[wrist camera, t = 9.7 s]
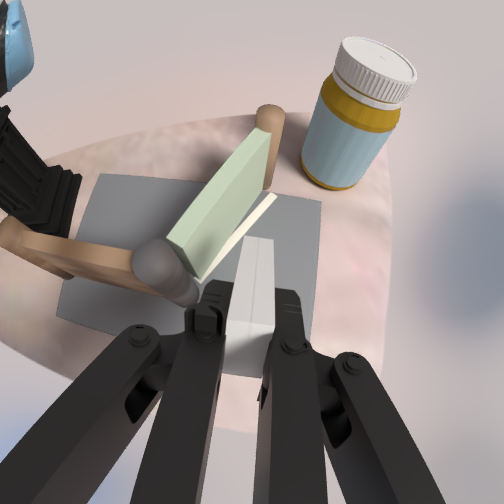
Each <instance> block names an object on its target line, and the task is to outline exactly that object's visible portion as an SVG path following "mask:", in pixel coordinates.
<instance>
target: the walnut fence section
mask: <svg viewBox="0 0 504 504" xmlns="http://www.w3.org/2000/svg"><path fill="white" fill-rule="evenodd" d="M0 246H1V247H2V248H4V249H6V250H8V251H10V252H11V253H13V254H15V255H17V256H19V257H21V258H23V259H24V260H26V261H28V262H30V263H32V264H34V265H36V266H38V267H40V268H42V269H44V270H46V271H48V272H50V273H52V274H55V275H57V276H59V277H61V278H63V279H65V280H71V279H73V278H74V277H75V276H77V277H80V278H84V279H88V280H92V281H96V282H100V283H104V284H108V285H112V286H117V287H121V288H125V289H130V290H134V291H139V292H143V293H148V294H152V295H157V296H162V297H166V298H167V299H169V300H170V301H172V302H173V303H175V304H176V305H178V306H180V307H182V308H187V307H189V306H191V305H192V304H195V303H197V302H198V300H199V297H200V291H199V288H198V287H197V285H196V284H195V282H194V281H193V279H192V278H191V276H190V275H189V273H188V272H187V270H186V269H185V267H184V266H183V264H182V263H181V261H180V260H179V258H178V257H177V255H176V254H175V252H174V251H173V249H172V248H171V247H170V245H169V244H168V243H166V242H164V241H162V240H159V239H151V240H148V241H145V242H143V243H142V244H141V245H140V246H139V247H138V248H137V249H136V250H135V251H130V250H125V249H119V248H114V247H108V246H103V245H98V244H92V243H87V242H82V241H77V240H72V239H66V238H61V237H56V236H51V235H46V234H41V233H36V232H34V231H33V230H31V229H30V228H28V227H27V226H26V225H24V224H23V223H21V222H20V221H19V220H17V219H16V218H15V217H13V216H7V217H6V218H4V219H3V221H2V222H1V223H0Z"/></svg>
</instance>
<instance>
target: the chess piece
mask: <svg viewBox="0 0 504 504" xmlns="http://www.w3.org/2000/svg"><path fill="white" fill-rule="evenodd" d="M10 112H11V110H10V108H9V107H8V105H6V106H4V107H2V108H1V107H0V208H1V209H2V210H4V211H5V212H6V213H8V216H13V217H15V218H16V219H17V220H19V221H20V222H21V223H23V224H24V225H26V226H27V227H28V228H30V229H31V230H33V231H34V232H36V233H41V234H46V235H51V236H56V237H61V238H66V239H68V235H69V230H70V225H71V220H72V216H73V211H74V207H75V203H76V199H77V195H78V191H79V188H80V184H81V180H82V176H81V175H80V173H79V174H73V172H72V171H71V170H70V169H69V170H63V168H62V167H61V166H60V165H57V166H52V167H48V166H47V165H46V164H45V163H44V162H43V161H42V159H41V158H40V157H39V156H38V155H37V154H36V152H35V151H34V150H33V149H32V147H31V146H30V145H29V144H28V143H27V141H26V140H25V139H24V138H23V136H22V135H21V134H20V132H19V131H18V130H17V129H16V127H15V126H14V125H13V123H12V122H11V121H10V119H9V118H8V115H9V113H10Z"/></svg>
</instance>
